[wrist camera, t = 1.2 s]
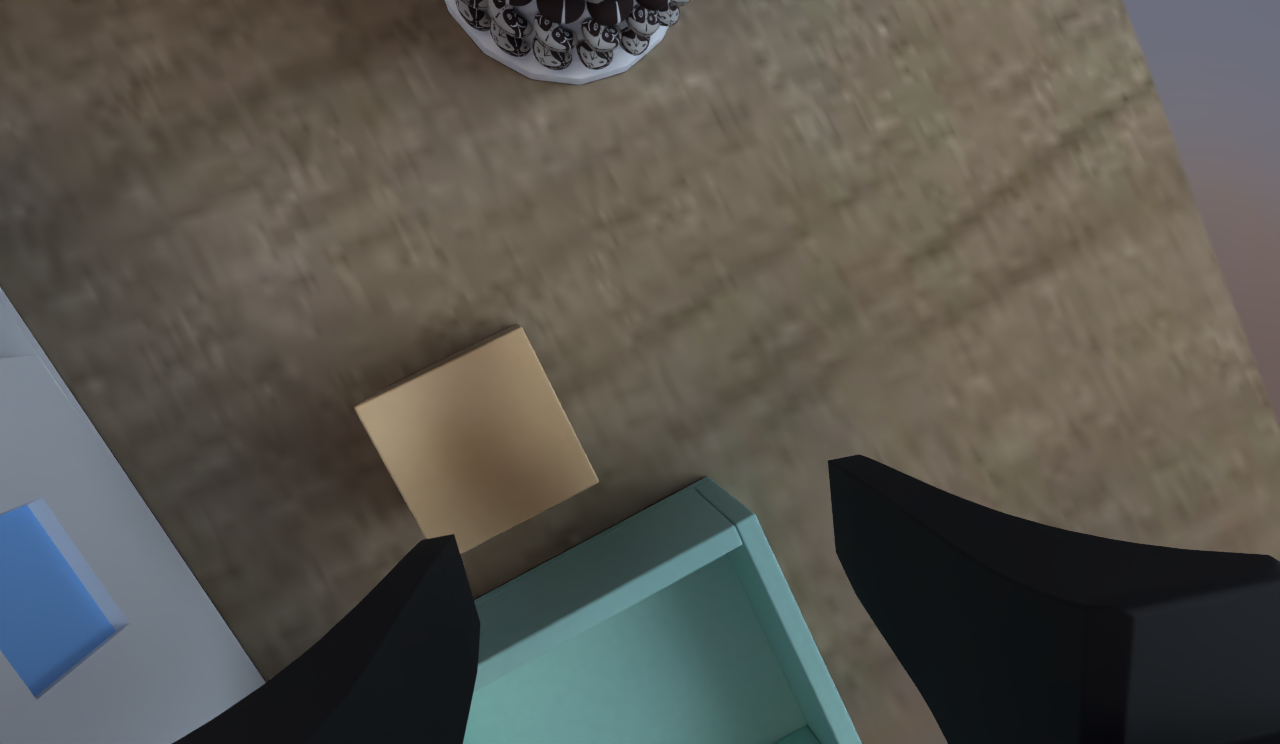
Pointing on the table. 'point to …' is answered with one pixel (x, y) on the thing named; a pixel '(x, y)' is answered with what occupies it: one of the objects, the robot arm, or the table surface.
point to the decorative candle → (566, 34)
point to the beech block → (478, 441)
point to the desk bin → (655, 640)
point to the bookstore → (93, 583)
